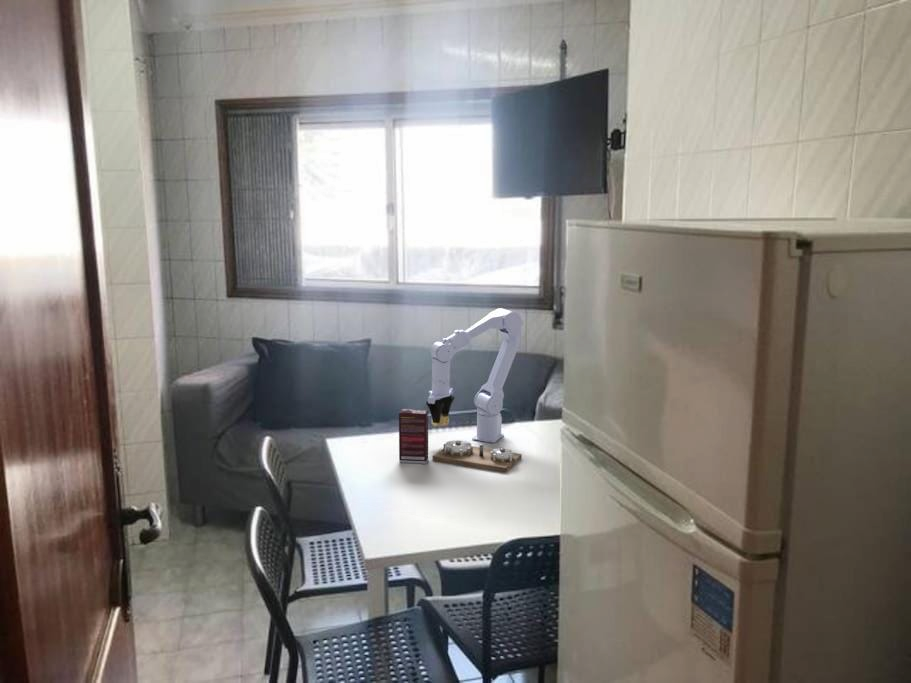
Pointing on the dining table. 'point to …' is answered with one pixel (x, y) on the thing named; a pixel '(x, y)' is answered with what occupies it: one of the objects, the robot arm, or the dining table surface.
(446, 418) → the brass gear
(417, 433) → the supplement box
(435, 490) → the dining table surface
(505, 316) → the robot arm
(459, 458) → the gear board
